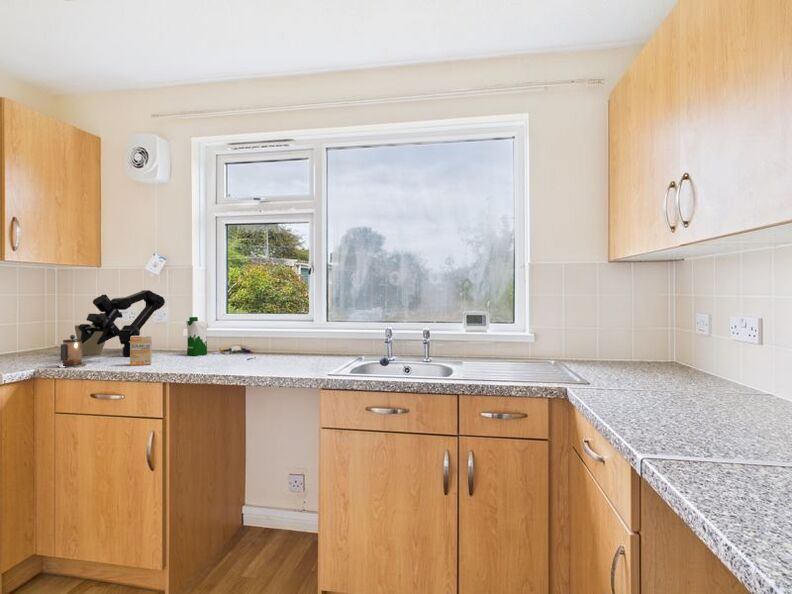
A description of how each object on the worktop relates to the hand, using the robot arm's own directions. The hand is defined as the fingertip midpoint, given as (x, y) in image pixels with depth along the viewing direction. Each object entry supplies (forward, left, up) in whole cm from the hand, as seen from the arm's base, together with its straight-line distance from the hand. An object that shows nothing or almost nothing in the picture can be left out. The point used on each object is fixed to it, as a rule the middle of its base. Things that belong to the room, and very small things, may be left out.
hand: (88, 343), depth 201 cm
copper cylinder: (+6, +5, -8) cm, 12 cm away
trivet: (+7, +6, -9) cm, 12 cm away
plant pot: (-4, -35, -9) cm, 36 cm away
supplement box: (-17, +21, -9) cm, 29 cm away
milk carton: (-46, +3, -9) cm, 47 cm away
